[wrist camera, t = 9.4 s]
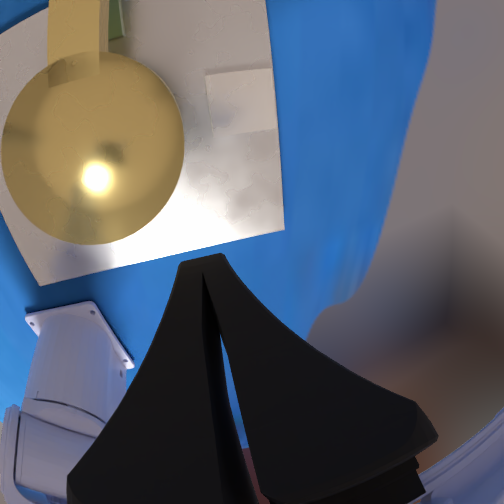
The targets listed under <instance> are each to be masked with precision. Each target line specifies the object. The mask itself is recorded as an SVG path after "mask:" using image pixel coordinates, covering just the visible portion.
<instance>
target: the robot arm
mask: <svg viewBox="0 0 504 504" xmlns="http://www.w3.org/2000/svg"><path fill="white" fill-rule="evenodd" d="M91 310H93V311H91ZM25 320H26V321H27V323H28V324H29V325H30V327H31V328H32V329H33V331H34V332H35V333H36V334H37V336H38V341H37V344H36V348H35V352H34V355H33V359H32V363H31V367H30V372H29V376H28V381H27V385H26V390H25V395H24V399H23V403H22V407H21V411H19V409H20V407H19V406H17V405H15V404H13V405H12V407H8V408H6V411H5V416H4V421H3V428H2V435H1V444H0V474H1V492H2V494H4V499H5V501H6V503H7V504H259V502H258V499H257V496H256V493H255V490H254V487H253V484H252V481H251V478H250V474H249V472H248V468H247V465H246V461H245V458H244V455H243V451H242V448H241V444H240V441H239V437H238V434H237V430H236V426H235V423H234V419H233V415H232V411H231V407H230V402H229V397H228V392H227V385H226V377H225V370H224V362H223V354H222V347H221V339H220V335H221V338H222V341H223V344H224V346H225V349H226V352H227V355H228V359H229V363H230V368H231V372H232V377H233V381H234V385H235V390H236V394H237V398H238V403H239V407H240V411H241V415H242V420H243V424H244V428H245V432H246V436H247V440H248V444H249V448H250V452H251V456H252V460H253V464H254V468H255V472H256V475H257V479H258V483H259V487H260V491H261V493H262V494H263V495H264V496H265V497H267V499H268V500H269V502H270V504H413V503H414V502H416V501H418V500H419V499H421V502H420V503H417V504H504V407H503V409H501V410H500V411H499V412H498V413H497V414H496V415H495V418H494V419H493V420H492V421H491V422H490V423H488V424H487V425H486V426H485V427H484V428H483V429H482V430H480V431H479V432H478V433H477V434H476V435H474V436H473V437H472V438H471V439H469V440H468V441H467V442H466V443H464V444H463V445H462V446H460V447H459V448H458V449H456V450H455V451H454V452H452V453H451V454H450V455H448V456H447V457H445V458H444V459H442V460H441V461H440V462H438V463H436V464H435V465H434V466H432V467H430V468H429V469H427V470H426V471H424V472H422V473H421V474H419V475H418V474H417V472H416V469H418V468H419V464H418V462H417V460H416V458H415V456H416V455H417V454H419V453H420V452H422V451H423V450H425V449H426V448H427V447H429V446H431V445H432V444H433V443H435V442H436V441H437V439H438V434H437V432H436V430H435V429H434V427H433V425H432V423H431V421H430V420H429V419H428V417H427V416H426V415H425V413H424V412H423V411H422V409H421V408H420V407H419V406H418V404H417V403H416V402H415V401H413V400H410V399H408V398H406V397H403V396H401V395H398V394H396V393H394V392H391V391H389V390H387V389H385V388H383V387H381V386H379V385H376V384H374V383H372V382H371V381H369V380H367V379H365V378H363V377H361V376H359V375H357V374H355V373H354V372H352V371H350V370H348V369H347V368H345V367H344V366H342V365H340V364H339V363H337V362H335V361H334V360H332V359H330V358H329V357H328V356H326V355H324V354H323V353H321V352H320V351H318V350H316V349H315V348H314V347H313V346H311V345H310V344H309V343H307V342H306V341H304V340H303V339H302V338H300V337H299V336H298V335H297V334H295V333H294V332H293V331H292V330H290V329H289V328H288V327H287V326H286V325H284V324H283V323H282V322H281V321H280V320H279V319H278V318H277V317H275V316H274V315H273V314H272V313H271V312H270V311H269V310H268V309H267V308H266V307H265V306H264V305H263V304H262V303H261V302H260V301H259V300H258V299H257V298H256V297H255V295H254V294H253V293H252V292H251V291H250V290H249V289H248V288H247V286H246V285H245V284H244V283H243V282H242V280H241V279H240V278H239V277H238V275H237V274H236V273H235V271H234V270H233V268H232V267H231V265H230V264H229V262H228V261H227V259H226V257H225V255H224V254H222V253H218V254H213V255H209V256H205V257H200V258H196V259H191V260H187V261H183V262H181V263H180V264H179V266H178V270H177V274H176V278H175V281H174V285H173V288H172V291H171V294H170V297H169V300H168V303H167V306H166V308H165V311H164V314H163V317H162V319H161V322H160V324H159V326H158V329H157V331H156V334H155V336H154V339H153V341H152V343H151V345H150V348H149V350H148V352H147V354H146V356H145V358H144V360H143V362H142V364H141V366H140V368H139V370H138V372H137V374H136V376H135V378H134V379H133V381H132V383H131V385H130V386H129V388H128V390H127V392H126V369H131V368H134V362H133V360H132V359H131V358H130V356H129V355H128V353H127V352H126V351H125V349H124V348H123V346H122V345H121V343H120V342H119V340H118V339H117V337H116V336H115V334H114V333H113V331H112V330H111V328H110V327H109V325H108V324H107V322H106V321H105V319H104V317H103V316H102V314H101V312H100V311H99V309H98V308H97V306H96V304H95V303H94V302H92V301H86V302H82V303H77V304H72V305H67V306H63V307H58V308H53V309H48V310H43V311H38V312H33V313H28V314H26V316H25Z"/></svg>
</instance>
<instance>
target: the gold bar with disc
mask: <svg viewBox="0 0 504 504" xmlns="http://www.w3.org/2000/svg"><path fill="white" fill-rule="evenodd" d="M108 19H109V0H49V9H48V27H47V65H48V66H47V67H45V68H44V69H43V70H41V71H40V72H39V73H37V74H36V75H35V76H34V77H33V78H32V79H31V80H30V81H29V82H28V83H27V84H26V85H25V87H24V88H23V89H22V90H21V92H20V93H19V95H18V96H17V98H16V99H15V101H14V103H13V105H12V107H11V109H10V111H9V113H8V116H7V119H6V122H5V125H4V129H3V134H2V140H1V164H2V170H3V175H4V179H5V182H6V185H7V188H8V190H9V192H10V194H11V197H12V199H13V200H14V202H15V203H16V205H17V207H18V208H19V209H20V211H21V212H22V213H23V214H24V216H25V217H26V218H27V219H28V220H29V221H30V222H31V223H32V224H34V225H35V226H36V227H38V228H39V229H40V230H42V231H43V232H45V233H47V234H48V235H50V236H52V237H55V238H57V239H59V240H62V241H65V242H69V243H74V244H80V245H100V244H107V243H111V242H115V241H118V240H121V239H124V238H126V237H128V236H130V235H132V234H134V233H136V232H137V231H139V230H141V229H142V228H144V227H145V226H146V225H147V224H149V223H150V222H151V221H152V220H153V219H154V218H155V217H156V216H157V215H158V214H159V213H160V212H161V211H162V209H163V208H164V206H165V205H166V204H167V202H168V201H169V199H170V197H171V196H172V194H173V192H174V190H175V188H176V185H177V183H178V180H179V177H180V174H181V170H182V166H183V159H184V131H183V122H182V117H181V113H180V110H179V107H178V104H177V102H176V100H175V97H174V96H173V94H172V92H171V90H170V89H169V87H168V86H167V85H166V83H165V82H164V81H163V80H162V79H161V77H159V76H158V75H157V74H156V73H155V72H154V71H153V70H152V69H150V68H149V67H147V66H145V65H144V64H142V63H140V62H138V61H136V60H134V59H132V58H129V57H126V56H123V55H119V54H115V53H111V52H108Z"/></svg>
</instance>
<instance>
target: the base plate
mask: <svg viewBox="0 0 504 504" xmlns="http://www.w3.org/2000/svg"><path fill="white" fill-rule="evenodd" d="M48 9H49V7H48V8H46V9H44V10H42V11H40V12H38V13H36V14H34V15H32V16H31V17H29V18H27V19H25V20H23V21H22V22H20V23H18V24H16V25H15V26H13V27H11V28H10V29H8V30H7V31H5V32H3V33H2V34H0V210H1V213H2V215H3V217H4V220H5V222H6V224H7V226H8V228H9V230H10V232H11V235H12V237H13V239H14V241H15V243H16V245H17V246H18V248H19V250H20V252H21V254H22V256H23V258H24V260H25V261H26V263H27V265H28V267H29V269H30V270H31V272H32V274H33V276H34V277H35V279H36V281H37V282H38V284H39V286H43V285H47V284H51V283H55V282H59V281H63V280H67V279H71V278H75V277H80V276H84V275H88V274H92V273H96V272H100V271H104V270H108V269H113V268H117V267H121V266H125V265H129V264H134V263H138V262H142V261H146V260H151V259H155V258H159V257H163V256H168V255H172V254H176V253H181V252H185V251H190V250H194V249H198V248H203V247H207V246H212V245H216V244H221V243H225V242H229V241H234V240H238V239H243V238H248V237H252V236H257V235H261V234H266V233H270V232H275V231H280V230H284V213H283V195H282V178H281V163H280V148H279V135H278V122H277V110H276V98H275V87H274V76H273V66H272V56H271V46H270V37H269V28H268V20H267V11H266V3H265V0H109V19H108V52H111V53H115V54H119V55H123V56H126V57H129V58H132V59H134V60H136V61H138V62H140V63H142V64H144V65H145V66H147V67H149V68H150V69H152V70H153V71H154V72H155V73H156V74H157V75H158V76H159V77H161V79H162V80H163V81H164V82H165V83H166V85H167V86H168V87H169V89H170V90H171V92H172V94H173V96H174V97H175V100H176V102H177V104H178V107H179V110H180V113H181V117H182V122H183V131H184V159H183V166H182V170H181V174H180V177H179V180H178V183H177V185H176V188H175V190H174V192H173V194H172V196H171V197H170V199H169V201H168V202H167V204H166V205H165V206H164V208H163V209H162V211H161V212H160V213H159V214H158V215H157V216H156V217H155V218H154V219H153V220H152V221H151V222H150V223H149V224H147V225H146V226H145V227H144V228H142V229H141V230H139V231H137V232H136V233H134V234H132V235H130V236H128V237H126V238H124V239H121V240H118V241H115V242H111V243H107V244H100V245H80V244H74V243H69V242H65V241H62V240H59V239H57V238H55V237H52V236H50V235H48V234H47V233H45V232H43V231H42V230H40V229H39V228H38V227H36V226H35V225H34V224H32V223H31V222H30V221H29V220H28V219H27V218H26V217H25V216H24V214H23V213H22V212H21V211H20V209H19V208H18V207H17V205H16V203H15V202H14V200H13V199H12V197H11V194H10V192H9V190H8V188H7V185H6V182H5V179H4V175H3V170H2V164H1V140H2V134H3V129H4V125H5V122H6V119H7V116H8V113H9V111H10V109H11V107H12V105H13V103H14V101H15V99H16V98H17V96H18V95H19V93H20V92H21V90H22V89H23V88H24V87H25V85H26V84H27V83H28V82H29V81H30V80H31V79H32V78H33V77H34V76H35V75H36V74H37V73H39V72H40V71H41V70H43V69H44V68H45V67H47V66H48V65H47V27H48Z"/></svg>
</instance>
